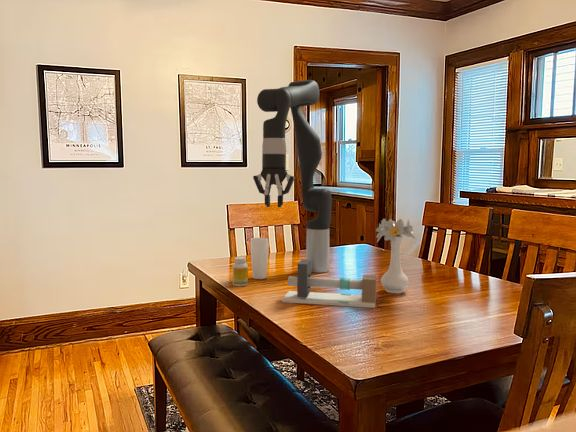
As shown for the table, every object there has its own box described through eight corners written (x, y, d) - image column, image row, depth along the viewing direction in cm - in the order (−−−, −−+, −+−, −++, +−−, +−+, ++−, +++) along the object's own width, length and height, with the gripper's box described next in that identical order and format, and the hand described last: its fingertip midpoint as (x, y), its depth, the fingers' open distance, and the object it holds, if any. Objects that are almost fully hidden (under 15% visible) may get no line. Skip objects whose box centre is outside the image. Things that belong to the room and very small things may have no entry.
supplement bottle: (230, 283, 178) (230, 257, 177) (244, 282, 181) (244, 256, 180) (235, 287, 174) (235, 260, 173) (250, 285, 176) (250, 258, 175)
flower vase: (402, 284, 179) (404, 215, 177) (421, 297, 161) (423, 221, 159) (367, 284, 178) (368, 215, 176) (382, 298, 160) (384, 221, 157)
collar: (297, 296, 155) (297, 263, 154) (301, 290, 163) (301, 259, 162) (306, 297, 155) (307, 264, 154) (310, 290, 162) (310, 259, 161)
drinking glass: (266, 280, 183) (266, 240, 182) (248, 279, 185) (248, 239, 183) (270, 276, 190) (270, 237, 188) (253, 275, 191) (253, 237, 190)
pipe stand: (282, 302, 155) (282, 276, 154) (288, 293, 166) (289, 269, 165) (374, 307, 149) (375, 281, 148) (375, 298, 160) (376, 273, 159)
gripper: (249, 152, 156) (249, 207, 157) (293, 152, 153) (293, 208, 155) (255, 153, 163) (255, 205, 165) (297, 153, 160) (297, 206, 162)
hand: (273, 206), depth 160 cm, fingers open, 3 cm apart
